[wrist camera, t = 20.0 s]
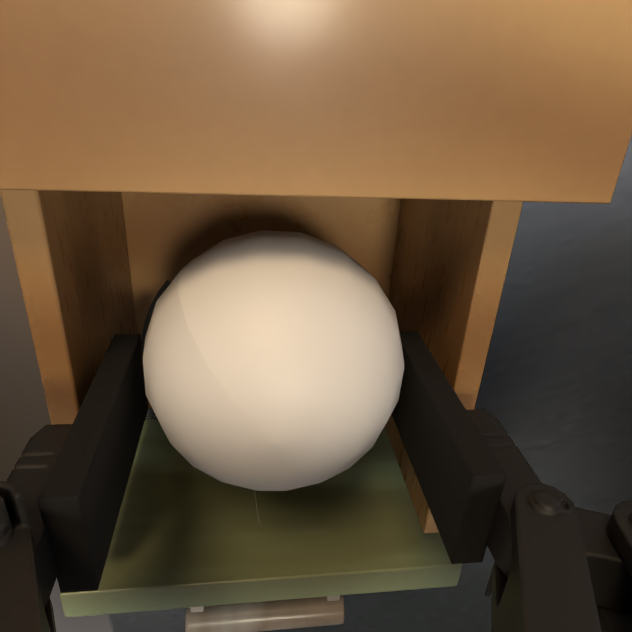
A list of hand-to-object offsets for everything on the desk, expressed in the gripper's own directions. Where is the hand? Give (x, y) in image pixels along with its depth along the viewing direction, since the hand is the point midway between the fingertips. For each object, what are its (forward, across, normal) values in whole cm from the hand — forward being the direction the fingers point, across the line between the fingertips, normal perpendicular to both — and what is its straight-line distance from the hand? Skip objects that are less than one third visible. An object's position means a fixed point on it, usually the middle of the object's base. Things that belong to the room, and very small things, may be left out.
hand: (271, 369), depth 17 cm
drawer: (+6, 0, +3) cm, 7 cm away
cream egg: (+2, 0, 0) cm, 2 cm away
